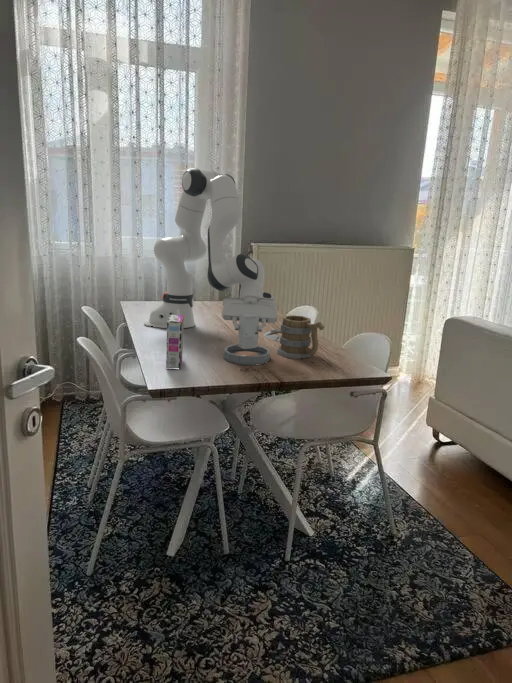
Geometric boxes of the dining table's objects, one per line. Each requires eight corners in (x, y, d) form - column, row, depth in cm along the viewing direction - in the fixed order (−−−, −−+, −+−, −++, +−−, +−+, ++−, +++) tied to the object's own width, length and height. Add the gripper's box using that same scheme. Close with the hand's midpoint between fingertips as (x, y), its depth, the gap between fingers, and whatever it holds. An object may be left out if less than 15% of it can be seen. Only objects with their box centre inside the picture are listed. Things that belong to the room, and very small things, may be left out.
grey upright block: (243, 349, 184) (245, 316, 181) (237, 346, 188) (238, 313, 185) (258, 347, 188) (260, 315, 184) (251, 344, 191) (253, 312, 188)
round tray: (221, 363, 181) (221, 355, 180) (225, 350, 197) (226, 342, 196) (269, 366, 180) (270, 358, 180) (270, 353, 197) (270, 345, 196)
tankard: (271, 351, 199) (273, 313, 195) (296, 347, 207) (298, 311, 203) (305, 366, 184) (309, 325, 180) (331, 361, 191) (335, 321, 187)
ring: (275, 344, 211) (276, 339, 210) (256, 332, 228) (256, 328, 227) (316, 341, 219) (317, 337, 218) (295, 330, 236) (295, 326, 235)
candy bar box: (181, 370, 172) (182, 322, 167) (165, 369, 171) (166, 321, 167) (183, 360, 183) (184, 314, 178) (168, 359, 182) (169, 314, 178)
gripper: (223, 292, 190) (219, 323, 183) (278, 295, 189) (276, 327, 182) (223, 301, 195) (220, 333, 189) (277, 304, 195) (276, 336, 188)
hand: (248, 330), depth 185 cm, fingers closed on grey upright block, 7 cm apart
